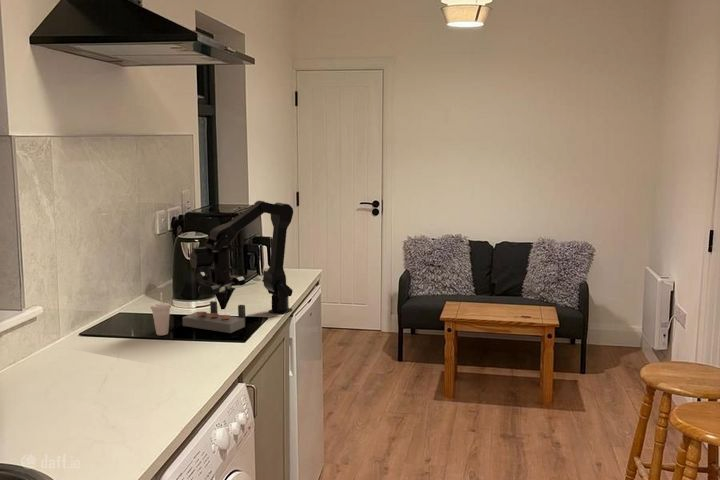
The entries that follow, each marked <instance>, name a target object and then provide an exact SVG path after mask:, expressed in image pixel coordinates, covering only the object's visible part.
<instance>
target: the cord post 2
mask: <svg viewBox="0 0 720 480" xmlns="http://www.w3.org/2000/svg"><path fill="white" fill-rule="evenodd" d="M237 311H238V313H237V315H238V317H239V318H245V324H246V321H247V319H246V305H245V304H238V306H237Z"/></svg>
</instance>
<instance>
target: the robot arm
mask: <svg viewBox="0 0 720 480" xmlns="http://www.w3.org/2000/svg"><path fill="white" fill-rule="evenodd" d="M263 214H268V215H270V221H271V223H272V226H273V231H272V239H271V240H272V241H271V250H270V251H271V252H270V261H269V267H268V269H267V270H264V271H263V273H262V275H263V277H262V280H261V282H262V283H263V287H264V288H265V289H266V290H267V293H268V294H270V295H271V309H269V310H268V313H275V314H282V315H283V314H287V313H289V312H291V311H293V308H291V307H290V306H289V304H290V302H289V297H292V295H293V292H294V291H293V289H292V288H291V287H290V286H288V284H287V276H286V273H285V270H284V261H285V253H286V243H287V242H286V241H287V231H288V227H290V224H291V222H292V220H293V217H294V208H293V207H292V205H290V204H289V203H282V202H275V203H270V202H268V201H264V200H256V201H255V202H254V203H253V204H252V205H251V206H249V207H247V209H245V210H244V211H243V212H241V213H240V214H238V215H237V216H235V217H234V218H233V219H232V220H230V221H228V222H227V223H222V224H220V225H218V226H216V227H214V228H212V229H211V230H210V231H209V237H208V238H207V240H206V241H205V244H204V245H203V247H193V248H192V249H191V253H190V255H189V256H190V257H189V263H190V266H191V268H193V269H199V268H200V269H201V268H209V267H211V266H212V267H211V268H209V272H207V273H205V272H204V271H200V272H198V273H197V274H196V281H197V282H198V283H200V284H201V285H199V286H198V294H200V295H207V296H208V295H210V296H211V295H212V296H214V295H215V297H216V299H217V300H216V301H217V303H218V304H219V307H220V310H225V309H226V308H227V305H228V303H229V300H230V299H231V297H232V295H233V293H234V291H235V290H236V288H235V287H233V286H232V285H234V284H238V286H240V287H241V286H244V285H245V284H246V282H245V281H246V280H245V277H244V276H243V275H235V274H234V275H231V271H233V270H234V269H233V268H234V267H233V266H231V255H230V253H231V252H235V251H236V248H235V247H233V246H232V244H231V243H232V242H233V241H234V240H235V239H236V237H237V235H238V234H239V233H240V231H242V230H244V229H245V228H246V227H247V226H248V225H250V224H252V222H254V221H255V220H257V219H258V218H259V217H261V216H262V215H263Z"/></svg>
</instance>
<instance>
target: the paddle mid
mask: <svg viewBox="0 0 720 480" xmlns="http://www.w3.org/2000/svg"><path fill="white" fill-rule="evenodd" d="M218 315H219V313H218V314H217V313H211V312H210V314H209V315H208V317H218Z"/></svg>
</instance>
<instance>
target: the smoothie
mask: <svg viewBox="0 0 720 480" xmlns="http://www.w3.org/2000/svg"><path fill="white" fill-rule="evenodd" d="M159 294H160V296H159V297H160V302H157V303H153V304H151V305H150V310H151V312H152V317H153V323H154V328H155V334H156V335H157V336H165V335H168V334H169V329H170V328H169V327H170V314H171V313H170V312H171V308H172V304H171V303H170V302H163V292H162V291H160V293H159Z"/></svg>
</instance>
